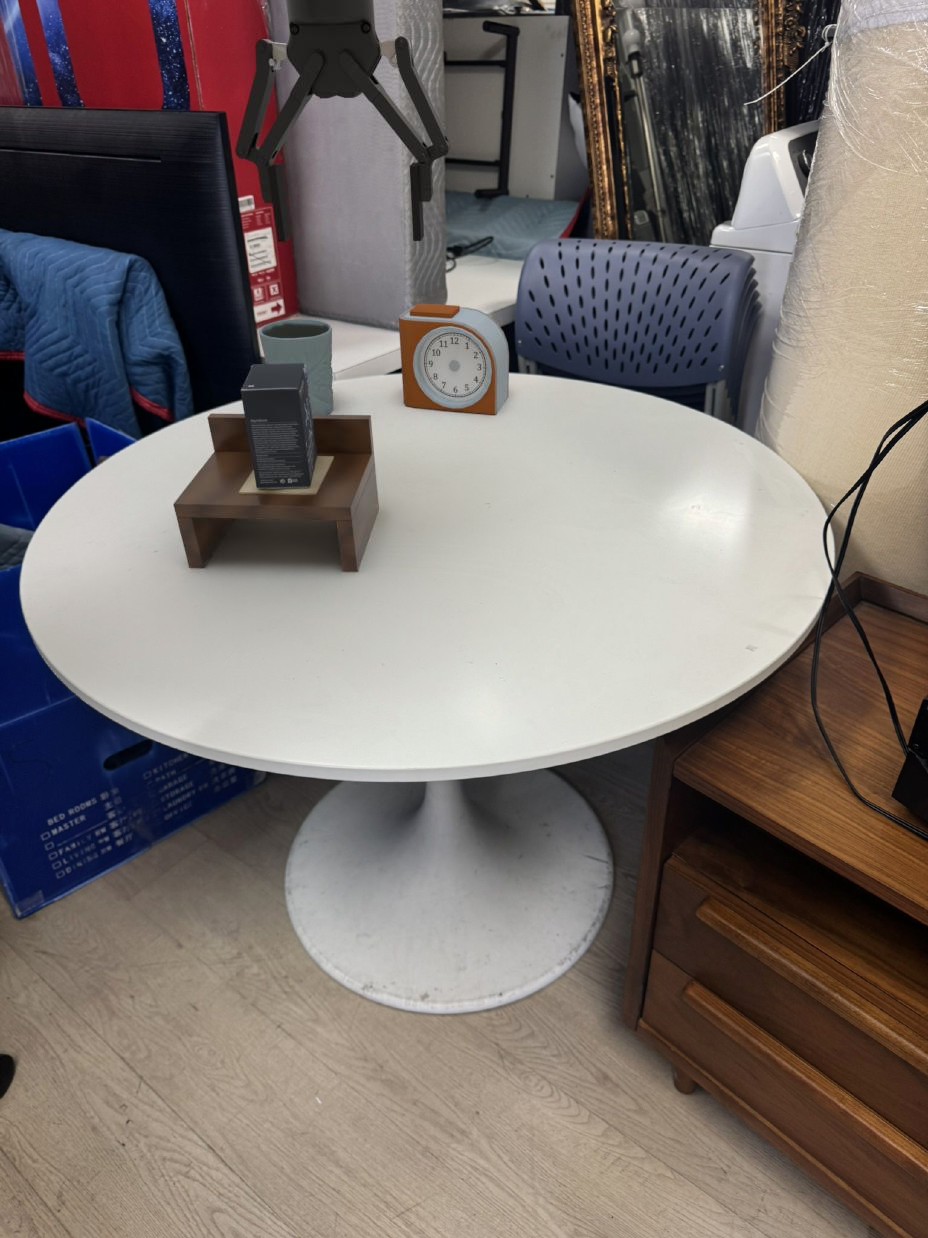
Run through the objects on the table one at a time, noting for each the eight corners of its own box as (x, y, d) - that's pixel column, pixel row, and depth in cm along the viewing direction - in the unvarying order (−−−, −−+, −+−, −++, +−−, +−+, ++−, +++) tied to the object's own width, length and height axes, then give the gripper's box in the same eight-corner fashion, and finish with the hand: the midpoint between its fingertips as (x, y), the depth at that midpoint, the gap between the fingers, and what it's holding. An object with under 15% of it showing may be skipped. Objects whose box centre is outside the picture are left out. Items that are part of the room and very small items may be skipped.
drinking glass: (259, 409, 123) (245, 328, 116) (315, 392, 128) (305, 313, 121) (296, 428, 116) (284, 343, 109) (353, 409, 122) (345, 327, 115)
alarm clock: (399, 407, 122) (393, 313, 115) (417, 387, 129) (413, 298, 121) (494, 415, 119) (495, 320, 111) (508, 395, 125) (510, 304, 118)
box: (312, 488, 83) (298, 387, 77) (256, 490, 83) (237, 389, 77) (318, 456, 90) (306, 360, 84) (266, 458, 89) (250, 362, 83)
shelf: (188, 567, 86) (163, 467, 79) (229, 505, 97) (210, 413, 91) (357, 571, 85) (346, 469, 78) (379, 508, 96) (370, 414, 89)
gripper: (168, -31, 67) (218, 246, 80) (469, -40, 66) (473, 245, 78) (199, -26, 73) (241, 231, 86) (475, -33, 72) (477, 230, 84)
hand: (351, 239), depth 82 cm, fingers open, 13 cm apart
